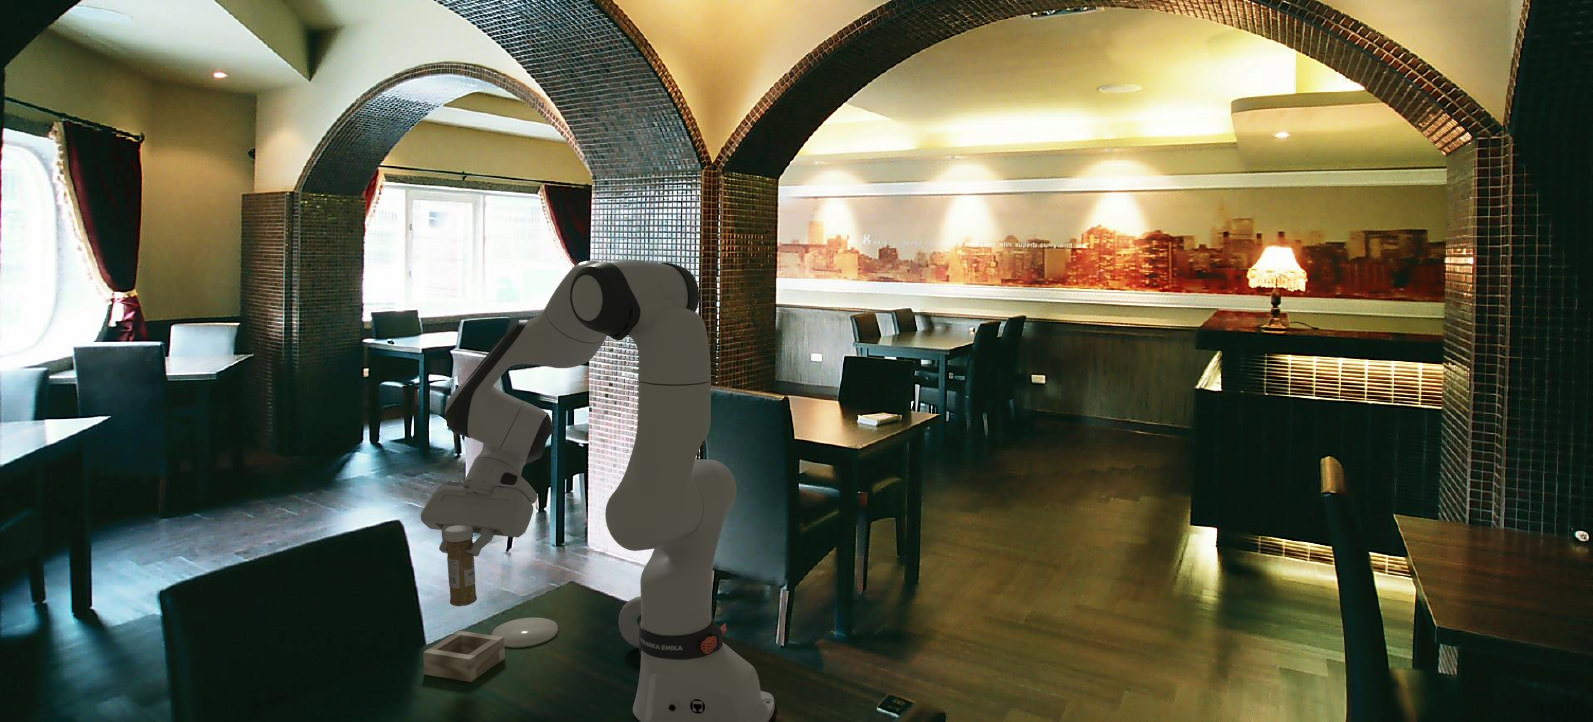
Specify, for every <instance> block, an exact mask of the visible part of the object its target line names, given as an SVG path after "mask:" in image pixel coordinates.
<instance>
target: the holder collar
mask: <svg viewBox="0 0 1593 722" xmlns="http://www.w3.org/2000/svg"><path fill="white" fill-rule="evenodd" d="M505 652H506V651H505V647H504V637H500V636H493V635H492V634H486V633H477V632H472V631H466V630H458V631H456V632H454V633H453V634H451V635H449V636H448V637H446V638H445V639H443V640H441V641H439V642H438V643H436V644H435V645H433V646H431V647H429V648H428V649H426V650H424V651H423V652H422V654H423V656H422V657H423V673H424V675H425V676H433V677H439V678H445V679H450V680H457V681H464V682H468V683H471V682H474V681H475V680H476V679H478V678H479V677H481V676H482V675H483V674H485V673H486V672H488V671H489V670H490V669H492V668H493V667H495V666H496V665H497V664H500V663H501V662H502V661H503V660H505V659H506V655H505V654H506V653H505ZM487 670H488V671H487Z"/></svg>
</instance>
